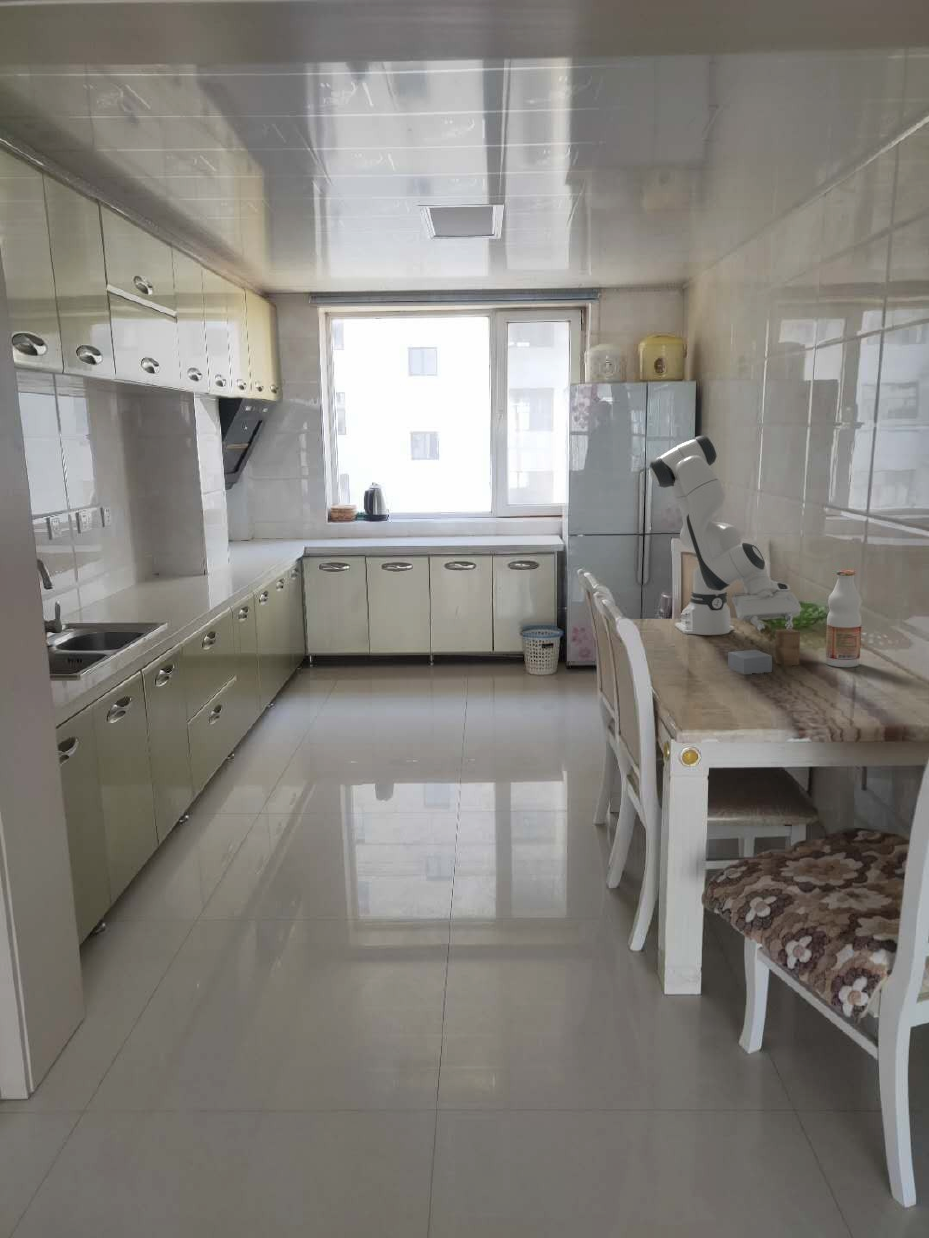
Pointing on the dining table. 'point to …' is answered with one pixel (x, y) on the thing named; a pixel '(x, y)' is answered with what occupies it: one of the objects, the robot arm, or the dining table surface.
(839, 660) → the fruit juice
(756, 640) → the dining table surface
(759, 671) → the slate grey base block
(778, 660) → the walnut block
